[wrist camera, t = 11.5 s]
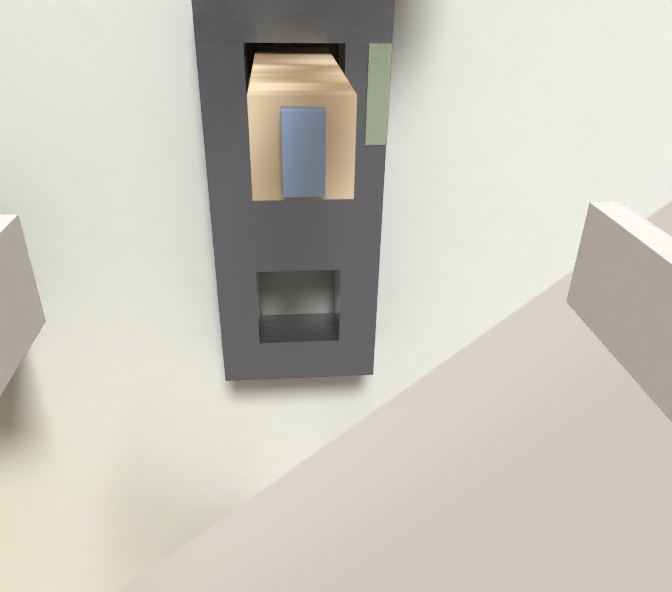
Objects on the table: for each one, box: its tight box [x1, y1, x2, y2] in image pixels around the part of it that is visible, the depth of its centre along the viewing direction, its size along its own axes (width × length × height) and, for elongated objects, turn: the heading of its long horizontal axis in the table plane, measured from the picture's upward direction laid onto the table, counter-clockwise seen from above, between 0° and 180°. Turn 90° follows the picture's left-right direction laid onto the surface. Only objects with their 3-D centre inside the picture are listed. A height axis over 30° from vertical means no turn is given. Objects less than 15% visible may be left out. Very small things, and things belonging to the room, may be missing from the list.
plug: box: [247, 47, 357, 201], centre depth 29 cm, size 4×4×15 cm
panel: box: [192, 0, 394, 381], centre depth 37 cm, size 10×24×4 cm, turn 179°
